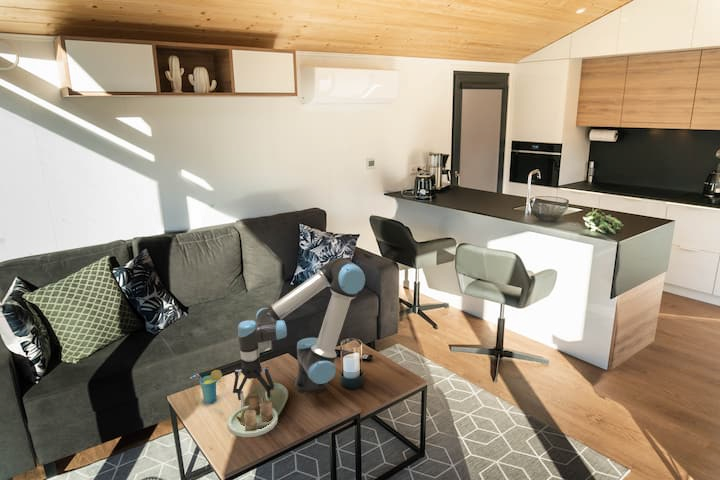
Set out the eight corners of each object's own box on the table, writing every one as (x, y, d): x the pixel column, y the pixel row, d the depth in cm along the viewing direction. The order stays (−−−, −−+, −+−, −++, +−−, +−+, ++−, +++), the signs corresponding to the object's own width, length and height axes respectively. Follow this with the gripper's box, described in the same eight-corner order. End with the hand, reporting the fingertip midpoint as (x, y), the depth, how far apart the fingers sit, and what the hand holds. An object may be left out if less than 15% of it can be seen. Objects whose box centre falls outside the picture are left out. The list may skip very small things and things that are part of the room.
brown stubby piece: (259, 416, 208) (258, 399, 206) (248, 417, 207) (247, 400, 205) (260, 410, 212) (259, 393, 210) (249, 410, 212) (248, 394, 210)
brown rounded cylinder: (273, 417, 207) (272, 400, 205) (272, 423, 203) (271, 406, 201) (262, 417, 207) (260, 400, 205) (261, 424, 202) (259, 407, 200)
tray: (279, 407, 215) (278, 402, 214) (275, 436, 196) (275, 431, 195) (232, 411, 213) (232, 406, 213) (224, 440, 194) (224, 435, 193)
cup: (196, 411, 214) (192, 380, 210) (190, 403, 220) (186, 373, 216) (226, 399, 222) (224, 369, 218) (219, 392, 228) (217, 362, 224)
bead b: (257, 426, 201) (256, 409, 199) (256, 433, 197) (255, 415, 195) (246, 427, 201) (244, 410, 199) (244, 434, 196) (243, 416, 194)
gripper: (278, 351, 208) (282, 397, 213) (224, 355, 206) (230, 402, 212) (276, 359, 201) (281, 407, 206) (221, 364, 199) (227, 412, 204)
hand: (255, 405), depth 209 cm, fingers open, 10 cm apart
